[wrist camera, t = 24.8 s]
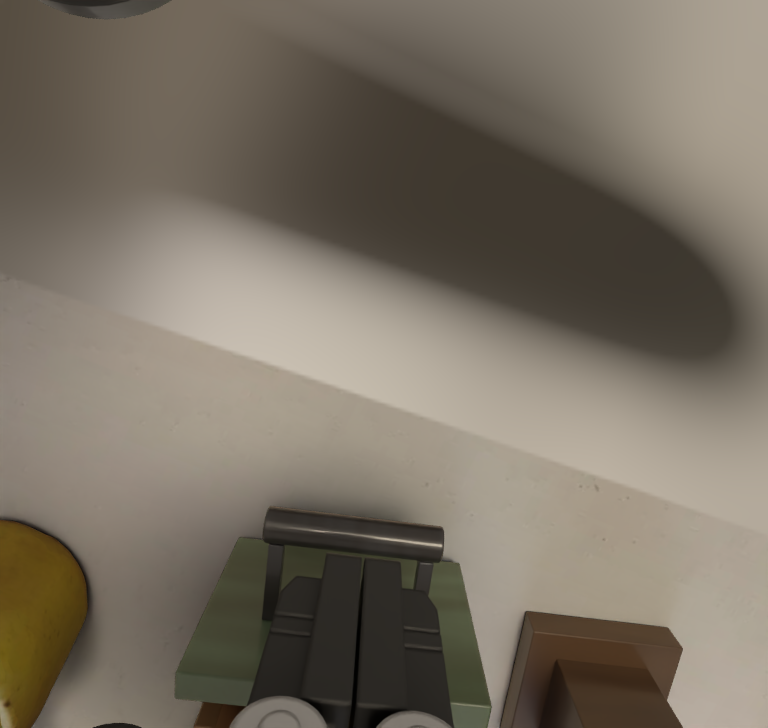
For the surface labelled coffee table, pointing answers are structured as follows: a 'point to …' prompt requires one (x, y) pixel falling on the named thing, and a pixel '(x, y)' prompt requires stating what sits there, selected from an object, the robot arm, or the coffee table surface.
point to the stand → (591, 675)
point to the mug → (35, 619)
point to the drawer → (307, 558)
